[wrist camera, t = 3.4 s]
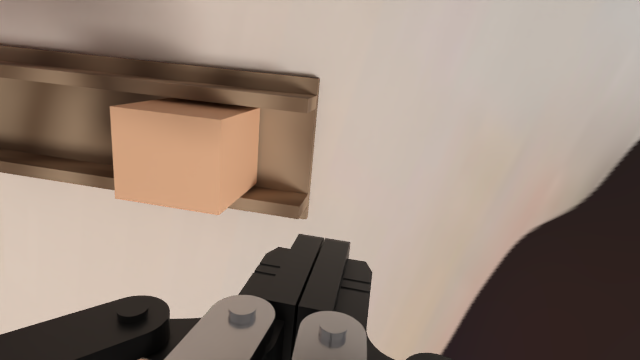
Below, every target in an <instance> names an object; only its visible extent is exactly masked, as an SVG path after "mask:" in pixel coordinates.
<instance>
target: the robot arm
mask: <svg viewBox="0 0 640 360" xmlns="http://www.w3.org/2000/svg"><path fill="white" fill-rule="evenodd" d="M349 250H350V242H346V241H340V240H334V239H328V238H325V240H324V238H321V237H315V236H309V235H303V234H299V235H298V237H297V238H296V240H295V242H294V244H293V245H292V247H291V249H287V248H282V247H278V248H276V249H274V250H272V251H270V252H269V253H267V254H266V255H265V256H264V258H263V259H262V261H261V262H260V265H258V267H257V268H256V270H255V272H254V273H253V274H252V276H251V277H250V278H249V280H248V281H247V283H246V284H245V286H244V287H243V289H242V290H241V292H240V293H239V295H235V296H230V297H227V298H224V299H222V300H220V301H218V302H217V303H215V304H214V305H213V306H212V307H211V308H210V309H209V310H208V312H207V313H206V314H205V315H204V316H203V317H202V318H191V319H170V310H169V306H168V305H167V303H165V302H164V301H163V300H161V299H159V298H156V297H152V296H131V297H126V298H122V299H119V300H115V301H112V302H109V303H105V304H102V305H99V306H95V307H92V308H89V309H85V310H82V311H79V312H75V313H72V314H68V315H65V316H62V317H58V318H55V319H52V320H48V321H45V322H42V323H38V324H35V325H31V326H28V327H25V328H21V329H18V330H15V331H11V332H8V333H5V334H1V335H0V360H394V359H392V358H390V357H388V356H386V355H385V354H383V353H382V352H380V351H379V350H378V349H377V348H376V347H375V346H374V345H373V344H372V343H371V341H370V340H369V338H368V336H367V332H366V327H367V317H368V307H369V298H370V288H371V279H372V271H371V269H370V268H369V266H368V265H367V263H366V262H364V261H358V260H352V259H348V258H349ZM406 360H452V359H450V358H447V357H445V356H442V355H439V354H433V353H419V354H415V355H412V356H410V357H409V358H407V359H406Z"/></svg>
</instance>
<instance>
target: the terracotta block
mask: <svg viewBox="0 0 640 360" xmlns="http://www.w3.org/2000/svg"><path fill="white" fill-rule="evenodd" d="M110 120H111V136H112V153H113V170H114V186H115V198H116V199H122V200H128V201H134V202H140V203H147V204H153V205H159V206H165V207H172V208H178V209H184V210H190V211H196V212H203V213H209V214H215V215H220V214H221V213H222V212H223V211H224V210H226V209H227V208H228V207H229V206H230V205H231V204H233V203H234V202H235V201H236V200H237V199H239V198H240V197H241V196H242V195H243V194H244V193H246V192H247V191H248V190H249V189H250V188H252V187H253V186H254V185H255V184H256V183H257V165H258V144H259V123H260V108H257V107H249V106H240V105H231V104H223V103H214V102H206V101H197V100H189V99H180V98H172V97H170V98H163V99H156V100H150V101H143V102H136V103H129V104H122V105H115V106H110Z"/></svg>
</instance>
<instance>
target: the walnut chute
mask: <svg viewBox="0 0 640 360" xmlns="http://www.w3.org/2000/svg"><path fill="white" fill-rule="evenodd" d="M319 82H320V79H319V78H309V77H299V76H290V75H280V74H270V73H261V72H251V71H241V70H232V69H222V68H212V67H203V66H193V65H184V64H174V63H164V62H155V61H145V60H135V59H126V58H116V57H106V56H97V55H87V54H77V53H68V52H58V51H49V50H39V49H29V48H20V47H10V46H0V172H3V173H9V174H15V175H22V176H28V177H34V178H41V179H47V180H53V181H60V182H66V183H72V184H79V185H85V186H91V187H98V188H104V189H110V190H115V186H114V170H113V153H112V136H111V120H110V106H115V105H122V104H129V103H136V102H143V101H150V100H156V99H163V98H170V97H172V98H180V99H189V100H197V101H206V102H214V103H223V104H231V105H240V106H249V107H257V108H260V123H259V144H258V165H257V183H256V184H255V185H254V186H253V187H252V188H250V189H249V190H248V191H247V192H246V193H244V194H243V195H242V196H241V197H240V198H239V199H237V200H236V201H235V202H234V203H233V204H231V205H230V206H229V207H228V208H231V209H238V210H244V211H250V212H257V213H263V214H269V215H276V216H282V217H288V218H295V219H299V218H300V219H307V217H308V206H309V195H310V184H311V172H312V161H313V150H314V139H315V127H316V116H317V105H318V94H319Z"/></svg>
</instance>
